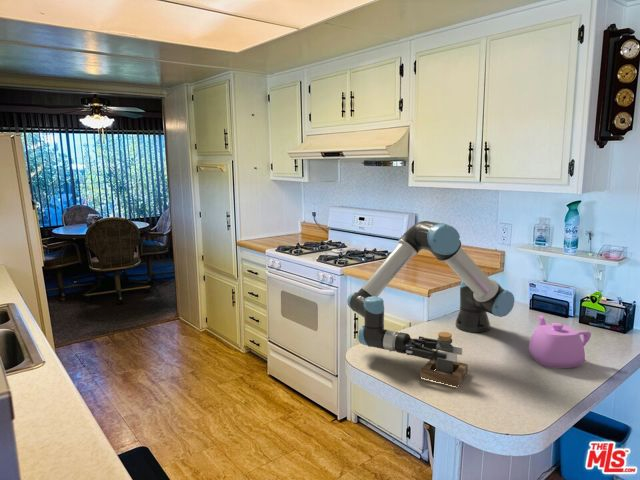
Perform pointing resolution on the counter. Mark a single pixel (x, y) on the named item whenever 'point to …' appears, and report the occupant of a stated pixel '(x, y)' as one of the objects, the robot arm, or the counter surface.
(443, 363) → the bottle
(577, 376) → the counter surface
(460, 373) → the block
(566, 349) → the teapot
